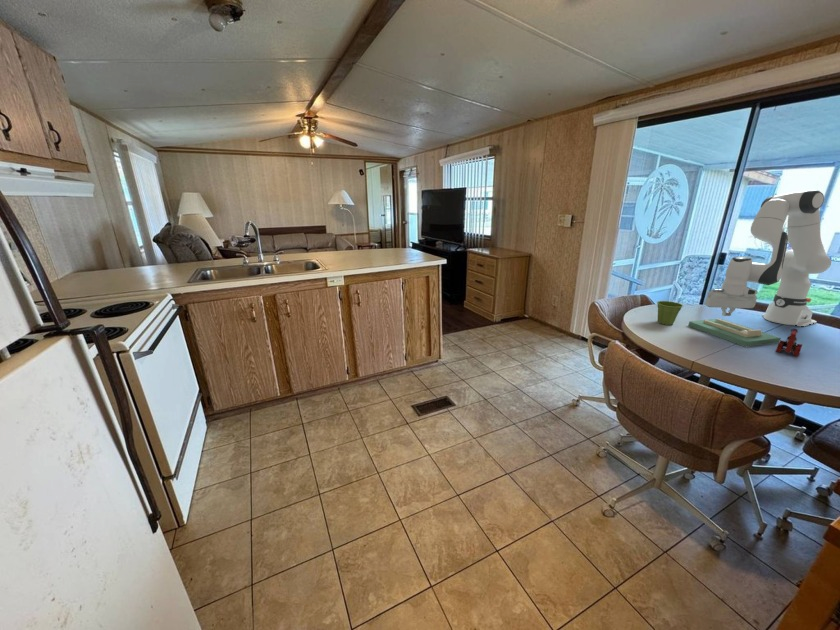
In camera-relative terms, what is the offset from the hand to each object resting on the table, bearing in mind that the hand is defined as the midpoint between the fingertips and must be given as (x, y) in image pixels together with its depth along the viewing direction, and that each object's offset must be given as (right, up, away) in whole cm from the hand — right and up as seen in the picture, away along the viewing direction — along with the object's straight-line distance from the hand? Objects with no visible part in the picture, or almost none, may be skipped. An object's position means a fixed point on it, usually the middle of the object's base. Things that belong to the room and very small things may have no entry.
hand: (726, 315), depth 171 cm
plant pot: (-21, -4, +14) cm, 26 cm away
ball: (+2, -9, -8) cm, 12 cm away
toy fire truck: (+7, -17, -22) cm, 29 cm away
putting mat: (+1, -9, -2) cm, 9 cm away
